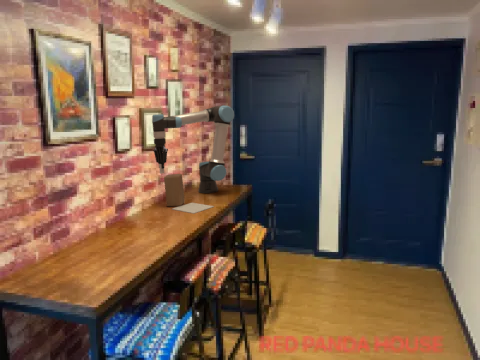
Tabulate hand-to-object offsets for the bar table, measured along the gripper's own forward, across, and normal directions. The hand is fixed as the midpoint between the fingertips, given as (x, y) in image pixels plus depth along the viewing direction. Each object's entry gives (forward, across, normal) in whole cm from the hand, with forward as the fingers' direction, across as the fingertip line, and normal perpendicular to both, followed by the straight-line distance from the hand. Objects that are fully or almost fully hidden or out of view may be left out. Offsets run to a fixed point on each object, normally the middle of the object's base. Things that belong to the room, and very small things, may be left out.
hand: (162, 173), depth 248 cm
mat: (+21, +27, 0) cm, 34 cm away
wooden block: (+21, +11, 0) cm, 24 cm away
